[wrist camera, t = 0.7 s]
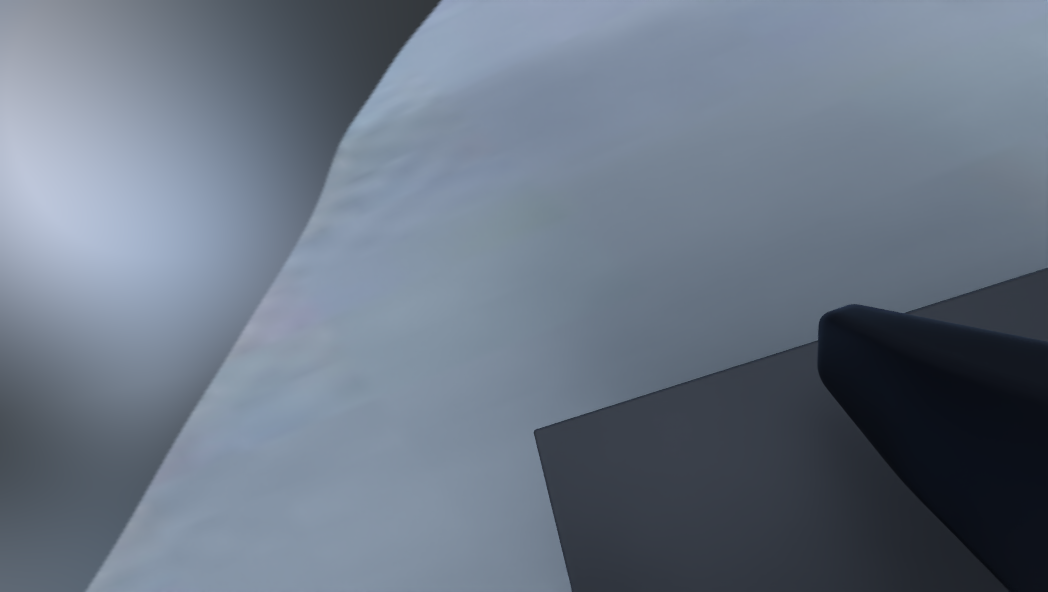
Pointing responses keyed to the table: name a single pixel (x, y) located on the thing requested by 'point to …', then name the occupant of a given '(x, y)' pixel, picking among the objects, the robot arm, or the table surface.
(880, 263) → the table surface
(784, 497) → the mini drawer cabinet
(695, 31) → the table surface
